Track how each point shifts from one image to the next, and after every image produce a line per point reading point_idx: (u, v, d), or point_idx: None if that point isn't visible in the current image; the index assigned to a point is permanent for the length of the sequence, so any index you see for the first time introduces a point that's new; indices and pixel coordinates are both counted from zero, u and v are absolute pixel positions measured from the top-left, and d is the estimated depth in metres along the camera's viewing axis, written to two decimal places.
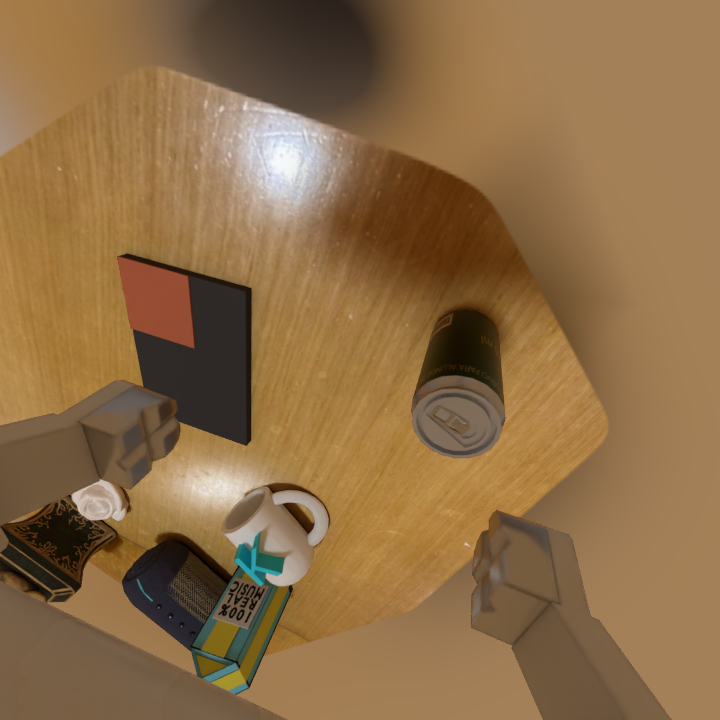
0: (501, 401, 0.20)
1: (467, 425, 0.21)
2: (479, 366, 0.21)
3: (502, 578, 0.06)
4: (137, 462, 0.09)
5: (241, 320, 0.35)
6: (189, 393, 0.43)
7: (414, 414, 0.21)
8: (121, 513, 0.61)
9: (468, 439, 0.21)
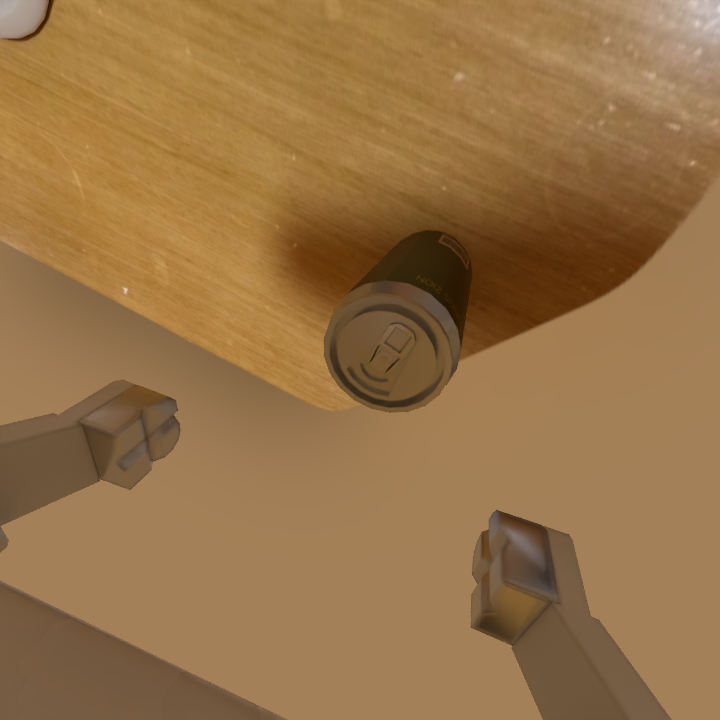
0: None
1: (386, 373, 0.14)
2: None
3: (502, 578, 0.06)
4: (137, 462, 0.09)
5: None
6: None
7: (393, 299, 0.12)
8: None
9: (359, 371, 0.14)
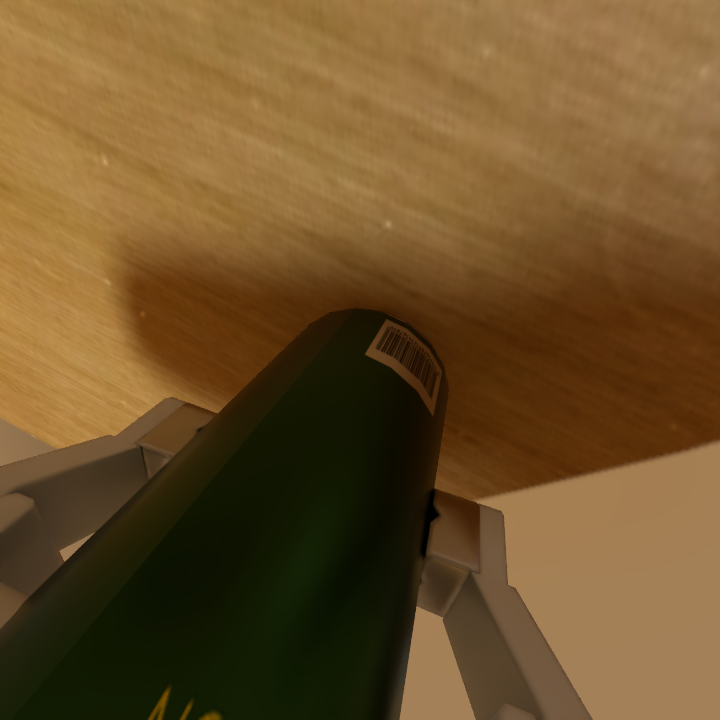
0: None
1: None
2: None
3: (426, 550, 0.07)
4: None
5: None
6: None
7: None
8: None
9: None
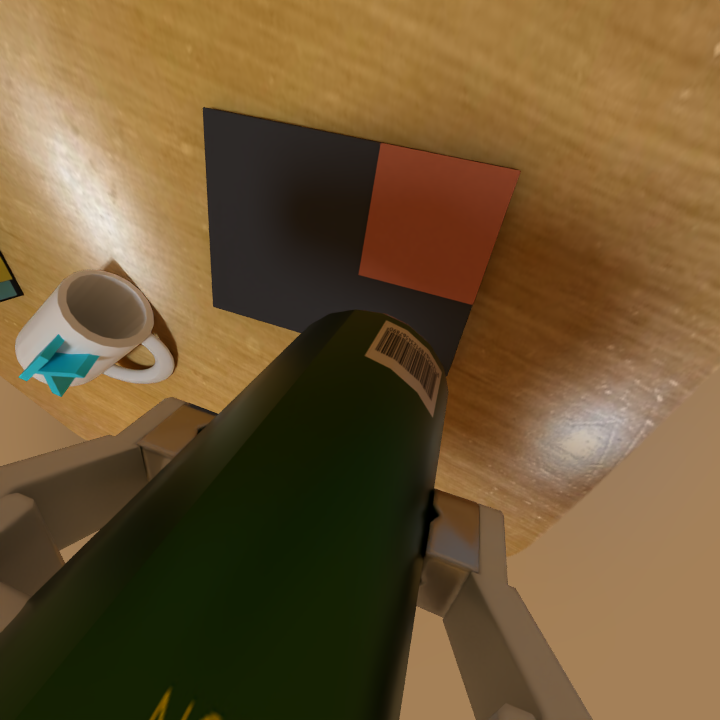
0: None
1: None
2: None
3: (426, 549, 0.07)
4: None
5: None
6: (273, 231, 0.26)
7: None
8: None
9: None
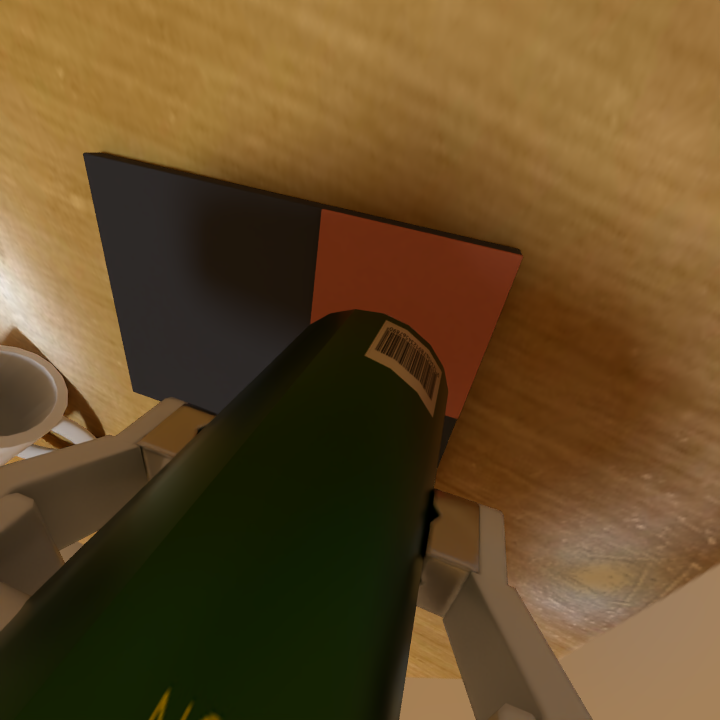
0: None
1: None
2: None
3: (426, 549, 0.07)
4: None
5: None
6: (193, 311, 0.19)
7: None
8: None
9: None
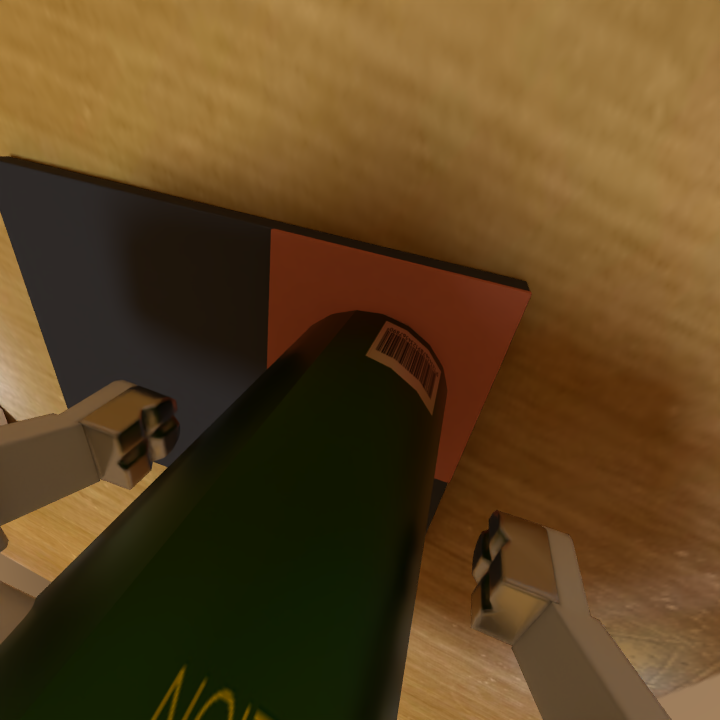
0: None
1: None
2: None
3: (502, 578, 0.06)
4: (137, 462, 0.09)
5: None
6: (131, 347, 0.16)
7: None
8: None
9: None
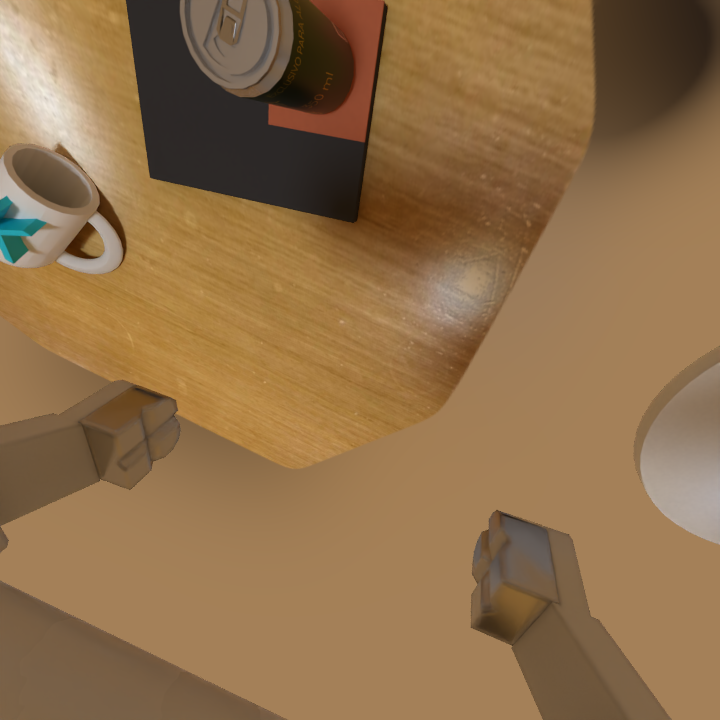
0: (273, 86, 0.18)
1: (233, 41, 0.17)
2: (305, 56, 0.18)
3: (502, 578, 0.06)
4: (137, 462, 0.09)
5: (320, 209, 0.31)
6: (193, 89, 0.29)
7: None
8: None
9: (214, 48, 0.17)
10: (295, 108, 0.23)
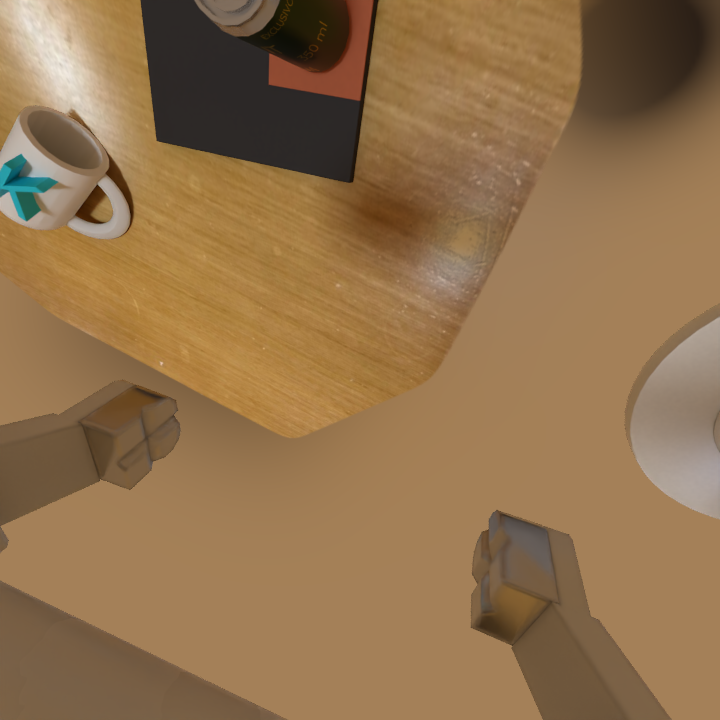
0: (266, 25, 0.19)
1: None
2: None
3: (501, 578, 0.06)
4: (137, 462, 0.09)
5: (317, 170, 0.33)
6: (198, 51, 0.31)
7: None
8: None
9: None
10: (291, 60, 0.25)
